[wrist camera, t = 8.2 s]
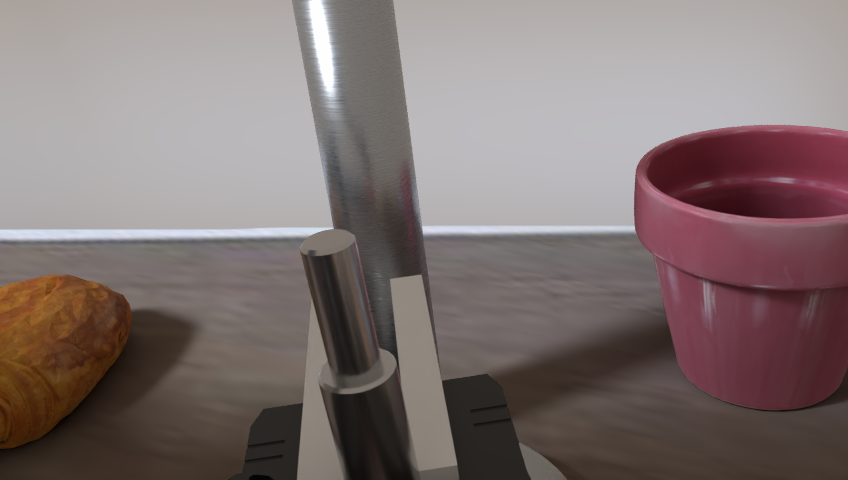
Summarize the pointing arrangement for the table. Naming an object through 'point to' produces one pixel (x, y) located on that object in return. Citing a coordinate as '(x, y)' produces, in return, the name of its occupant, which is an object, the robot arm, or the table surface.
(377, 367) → the tow hook
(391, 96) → the paper towel holder
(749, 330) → the plant pot
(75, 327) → the croissant
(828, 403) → the table surface
